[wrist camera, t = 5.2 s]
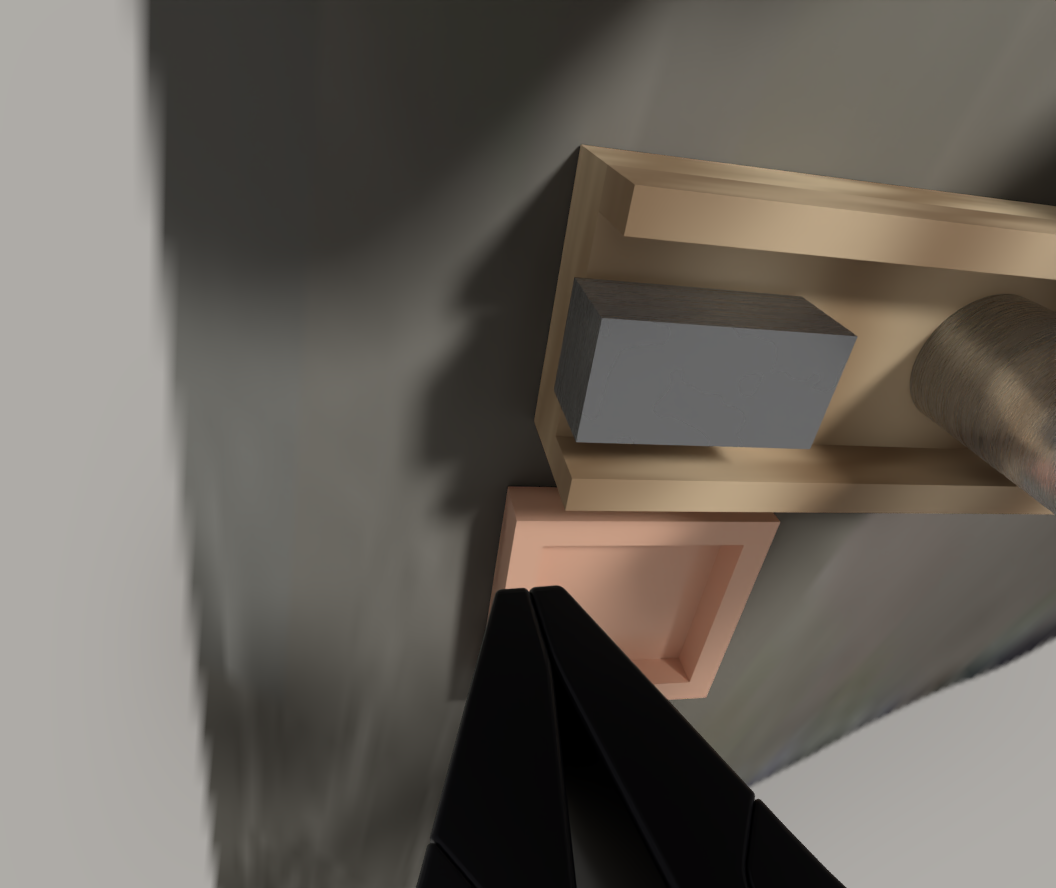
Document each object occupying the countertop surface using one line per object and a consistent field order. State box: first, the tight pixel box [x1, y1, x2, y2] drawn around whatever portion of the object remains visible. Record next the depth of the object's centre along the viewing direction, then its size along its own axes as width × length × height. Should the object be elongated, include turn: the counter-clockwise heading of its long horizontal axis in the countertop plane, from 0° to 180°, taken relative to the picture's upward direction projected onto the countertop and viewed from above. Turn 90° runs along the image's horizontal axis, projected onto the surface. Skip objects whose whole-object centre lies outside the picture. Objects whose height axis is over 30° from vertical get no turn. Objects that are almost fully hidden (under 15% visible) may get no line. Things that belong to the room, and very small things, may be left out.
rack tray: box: [487, 486, 780, 700], centre depth 25 cm, size 9×9×2 cm
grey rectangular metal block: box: [554, 277, 858, 449], centre depth 16 cm, size 6×3×2 cm, turn 82°
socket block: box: [534, 145, 1056, 514], centre depth 19 cm, size 16×8×4 cm, turn 82°
